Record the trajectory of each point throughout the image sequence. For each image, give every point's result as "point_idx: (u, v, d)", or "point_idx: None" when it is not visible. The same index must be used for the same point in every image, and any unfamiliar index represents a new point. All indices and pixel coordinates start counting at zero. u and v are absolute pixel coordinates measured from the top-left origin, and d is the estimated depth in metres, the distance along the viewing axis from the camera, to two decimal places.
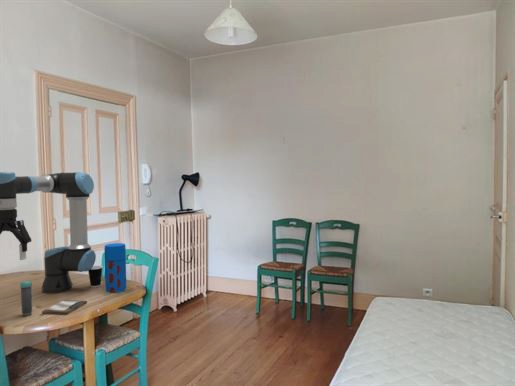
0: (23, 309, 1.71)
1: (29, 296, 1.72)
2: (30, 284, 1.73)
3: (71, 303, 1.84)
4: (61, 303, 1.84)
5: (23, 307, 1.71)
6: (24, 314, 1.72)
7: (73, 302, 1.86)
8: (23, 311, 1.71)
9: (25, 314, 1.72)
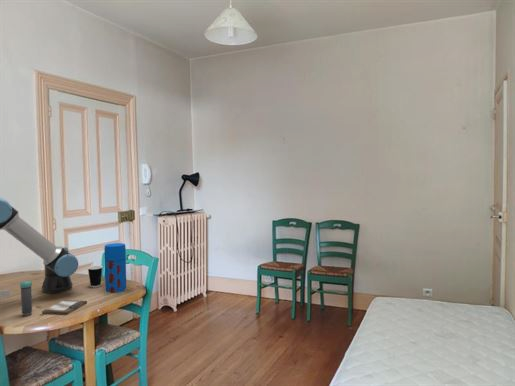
0: (23, 309, 1.71)
1: (29, 296, 1.72)
2: (30, 284, 1.73)
3: (71, 303, 1.84)
4: (61, 303, 1.84)
5: (23, 307, 1.71)
6: (24, 314, 1.72)
7: (73, 302, 1.86)
8: (23, 311, 1.71)
9: (25, 314, 1.72)
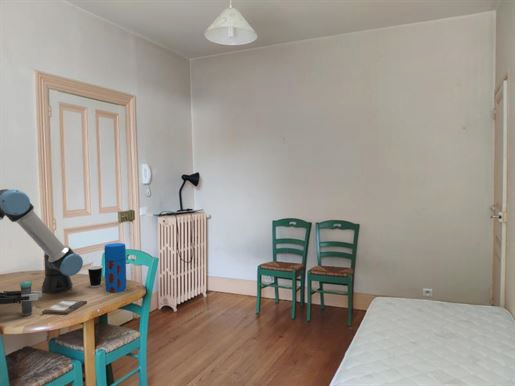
0: (23, 309, 1.71)
1: None
2: (30, 284, 1.73)
3: (71, 303, 1.84)
4: (61, 303, 1.84)
5: (23, 307, 1.71)
6: (24, 314, 1.72)
7: (73, 302, 1.86)
8: (23, 311, 1.71)
9: (25, 314, 1.72)
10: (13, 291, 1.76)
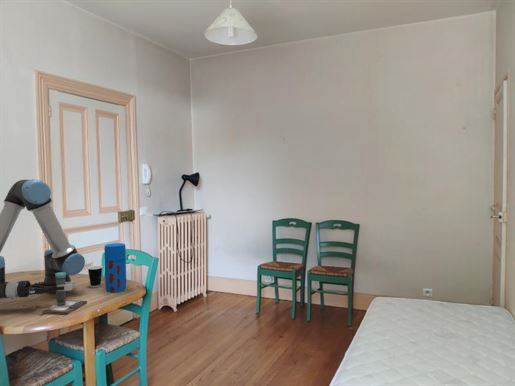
0: (59, 298, 1.81)
1: None
2: (64, 275, 1.82)
3: (71, 303, 1.84)
4: None
5: (58, 297, 1.81)
6: (59, 303, 1.81)
7: (73, 302, 1.86)
8: (58, 300, 1.81)
9: (60, 303, 1.81)
10: (48, 282, 1.86)
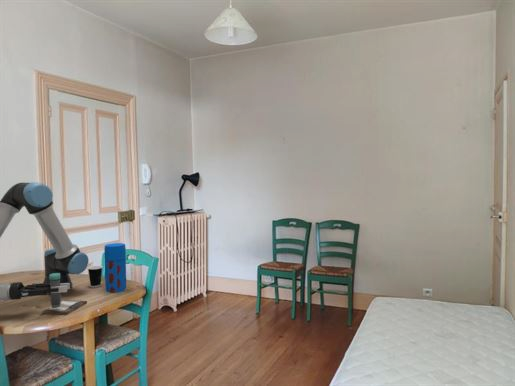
0: (53, 300, 1.73)
1: None
2: (59, 276, 1.75)
3: (71, 303, 1.84)
4: (61, 303, 1.84)
5: (52, 299, 1.73)
6: (53, 306, 1.74)
7: (73, 302, 1.86)
8: (52, 303, 1.74)
9: (54, 306, 1.74)
10: (41, 283, 1.79)
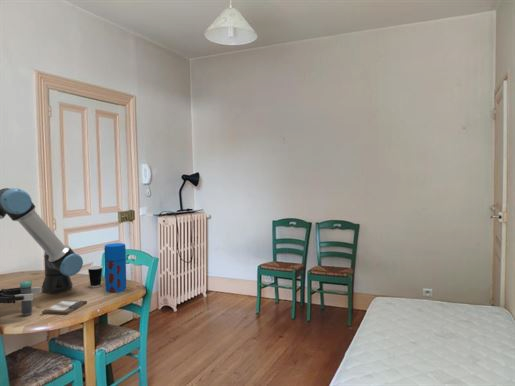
0: (23, 309, 1.71)
1: None
2: (30, 284, 1.73)
3: (71, 303, 1.84)
4: (61, 303, 1.84)
5: (23, 307, 1.71)
6: (24, 314, 1.72)
7: (73, 302, 1.86)
8: (23, 311, 1.71)
9: (25, 314, 1.72)
10: (12, 288, 1.78)
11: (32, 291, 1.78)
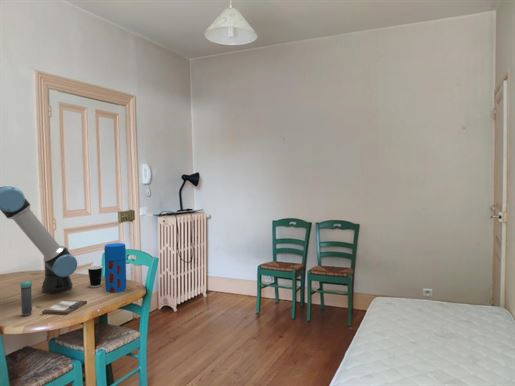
0: (23, 309, 1.71)
1: (29, 296, 1.72)
2: (30, 284, 1.73)
3: (71, 303, 1.84)
4: (61, 303, 1.84)
5: (23, 307, 1.71)
6: (24, 314, 1.72)
7: (73, 302, 1.86)
8: (23, 311, 1.71)
9: (25, 314, 1.72)
10: None
11: None
